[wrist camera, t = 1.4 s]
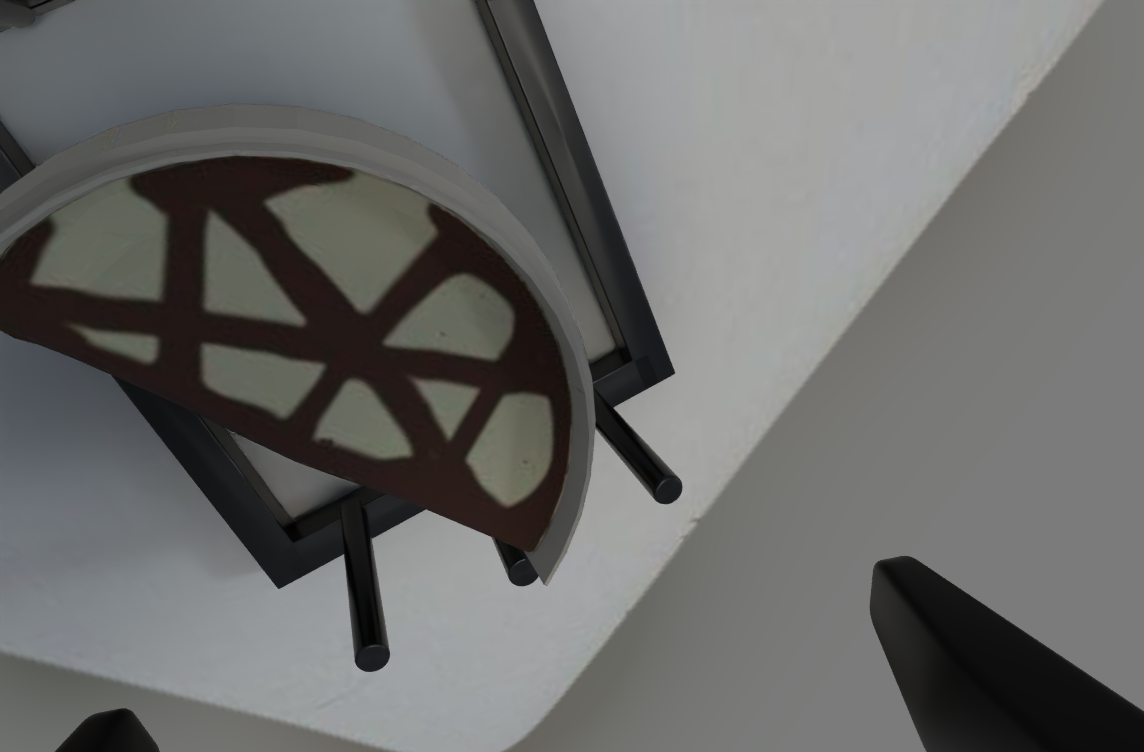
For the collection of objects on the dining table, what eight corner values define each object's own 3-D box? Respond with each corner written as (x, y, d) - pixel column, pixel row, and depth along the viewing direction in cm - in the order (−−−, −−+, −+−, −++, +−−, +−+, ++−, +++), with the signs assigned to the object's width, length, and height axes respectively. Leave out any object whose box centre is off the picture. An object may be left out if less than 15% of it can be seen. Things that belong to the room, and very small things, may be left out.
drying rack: (279, 568, 25) (273, 754, 18) (-141, 21, 17) (-426, -10, 10) (660, 362, 27) (785, 461, 20) (436, -218, 19) (514, -378, 12)
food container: (576, 248, 24) (736, 349, 16) (471, 410, 25) (567, 595, 16) (180, -15, 19) (78, -91, 10) (62, 203, 20) (-128, 313, 11)
